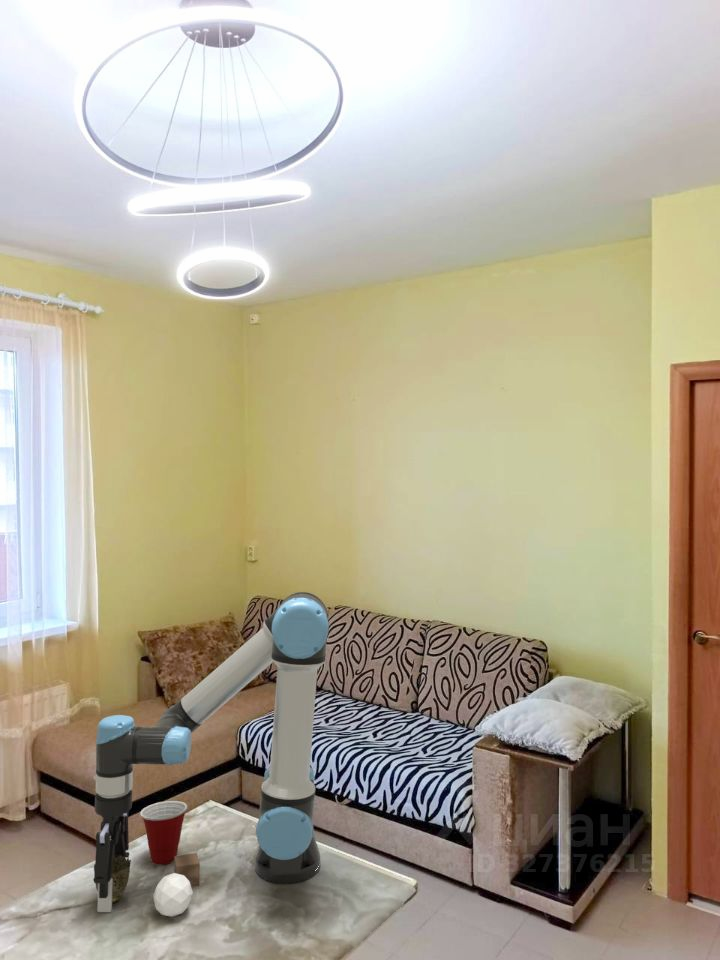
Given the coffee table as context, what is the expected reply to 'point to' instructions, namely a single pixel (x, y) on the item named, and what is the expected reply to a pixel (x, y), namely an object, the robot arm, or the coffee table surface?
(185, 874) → the walnut block
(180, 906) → the geometric ball
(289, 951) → the coffee table surface
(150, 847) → the plastic cup
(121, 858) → the ornate bell
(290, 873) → the robot arm
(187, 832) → the coffee table surface
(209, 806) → the coffee table surface
